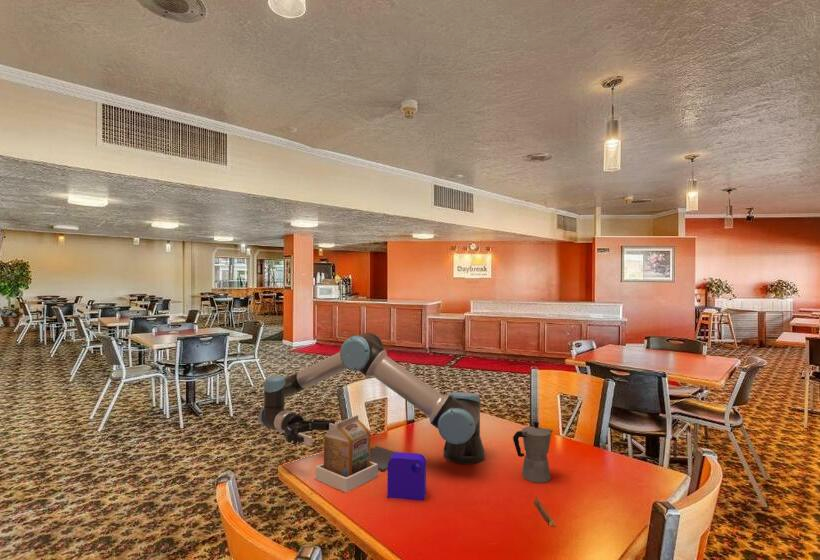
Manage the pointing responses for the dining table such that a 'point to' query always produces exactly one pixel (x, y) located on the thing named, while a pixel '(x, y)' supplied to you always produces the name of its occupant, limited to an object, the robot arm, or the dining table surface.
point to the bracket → (406, 476)
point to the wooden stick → (543, 512)
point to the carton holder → (346, 482)
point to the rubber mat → (380, 457)
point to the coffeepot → (534, 452)
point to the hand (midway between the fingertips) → (327, 436)
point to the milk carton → (347, 447)
